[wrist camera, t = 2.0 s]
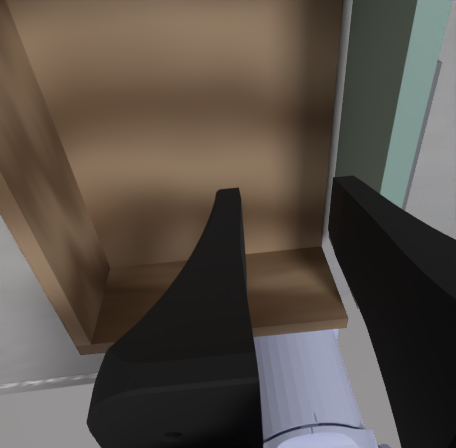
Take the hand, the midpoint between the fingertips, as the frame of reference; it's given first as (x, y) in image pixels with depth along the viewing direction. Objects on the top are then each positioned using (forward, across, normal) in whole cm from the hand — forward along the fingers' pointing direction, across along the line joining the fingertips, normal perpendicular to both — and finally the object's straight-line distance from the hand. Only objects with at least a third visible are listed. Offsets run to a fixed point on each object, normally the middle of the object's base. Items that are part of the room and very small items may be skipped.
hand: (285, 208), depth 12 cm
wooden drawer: (+9, +3, 0) cm, 10 cm away
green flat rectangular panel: (+8, -5, 0) cm, 9 cm away
